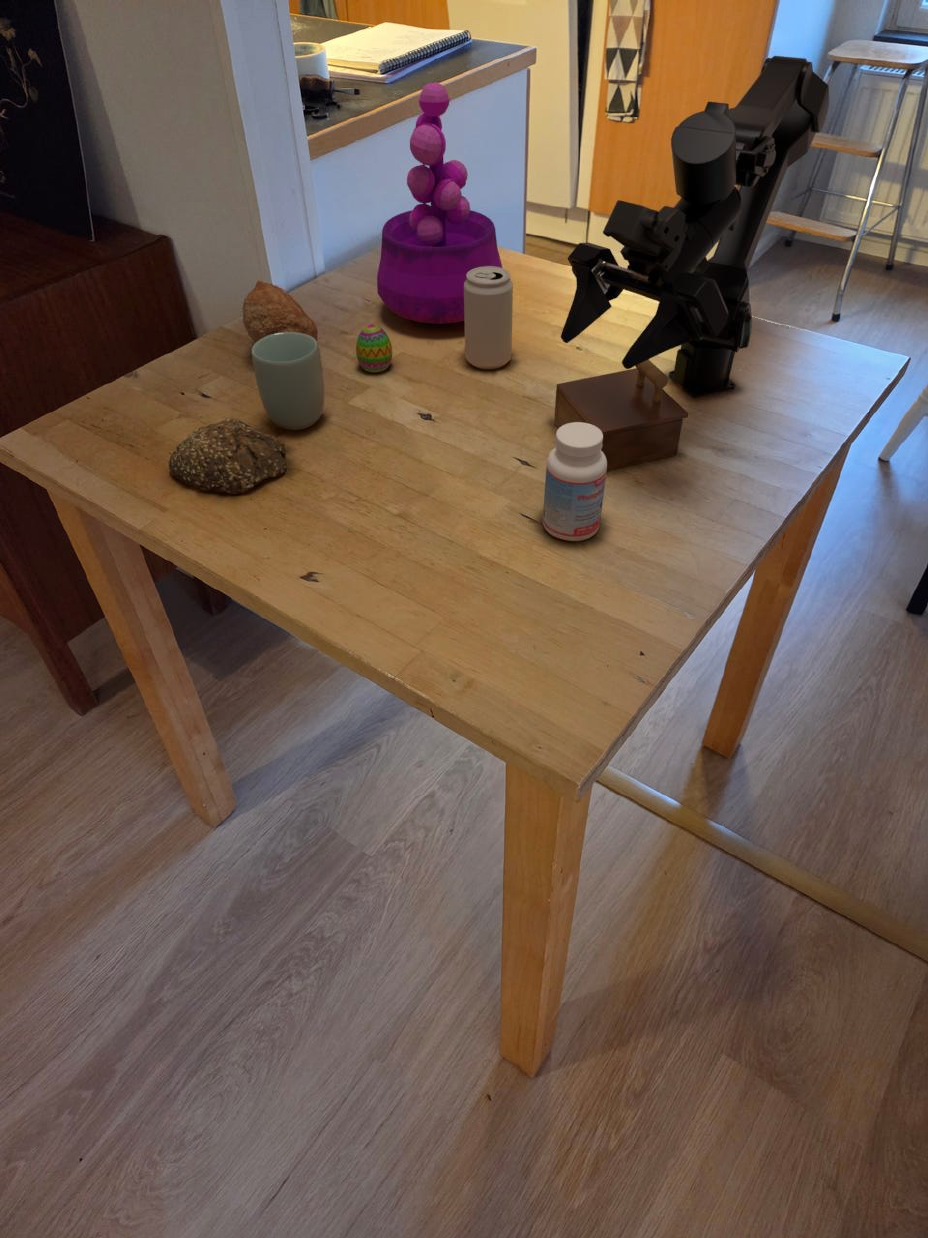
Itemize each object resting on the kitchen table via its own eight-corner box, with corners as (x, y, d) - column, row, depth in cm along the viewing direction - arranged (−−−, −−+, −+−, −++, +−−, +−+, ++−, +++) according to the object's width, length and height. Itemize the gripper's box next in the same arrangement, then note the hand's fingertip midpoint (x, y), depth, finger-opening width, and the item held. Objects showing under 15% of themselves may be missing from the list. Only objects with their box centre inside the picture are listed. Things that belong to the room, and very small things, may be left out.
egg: (364, 378, 114) (360, 336, 110) (353, 362, 117) (348, 321, 113) (398, 371, 115) (395, 328, 111) (386, 355, 118) (382, 314, 114)
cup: (340, 412, 108) (330, 338, 101) (307, 443, 102) (294, 367, 96) (288, 400, 110) (275, 326, 103) (253, 429, 105) (237, 354, 98)
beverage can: (507, 373, 114) (509, 285, 106) (460, 369, 115) (459, 282, 107) (514, 351, 119) (517, 265, 110) (469, 348, 120) (468, 262, 111)
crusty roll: (310, 331, 124) (300, 262, 117) (326, 370, 116) (316, 298, 109) (245, 340, 122) (231, 271, 115) (256, 381, 114) (241, 309, 107)
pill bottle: (584, 550, 87) (594, 458, 79) (532, 531, 90) (537, 440, 82) (609, 519, 91) (621, 428, 83) (558, 502, 93) (565, 411, 85)
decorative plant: (504, 340, 121) (508, 100, 100) (375, 341, 122) (352, 102, 101) (501, 285, 135) (505, 64, 114) (385, 286, 135) (367, 66, 114)
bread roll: (156, 473, 98) (144, 436, 95) (233, 426, 106) (225, 390, 102) (235, 510, 93) (225, 472, 90) (310, 457, 100) (304, 420, 97)
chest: (630, 407, 107) (634, 372, 104) (676, 455, 100) (683, 419, 96) (553, 423, 105) (556, 388, 102) (595, 473, 97) (599, 437, 94)
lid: (639, 371, 104) (643, 340, 101) (688, 417, 96) (694, 385, 94) (556, 388, 102) (558, 357, 99) (599, 437, 94) (603, 405, 91)
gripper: (595, 156, 86) (499, 276, 87) (740, 185, 74) (627, 325, 75) (635, 236, 95) (547, 346, 95) (771, 274, 83) (669, 399, 83)
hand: (592, 352), depth 87 cm, fingers open, 9 cm apart
